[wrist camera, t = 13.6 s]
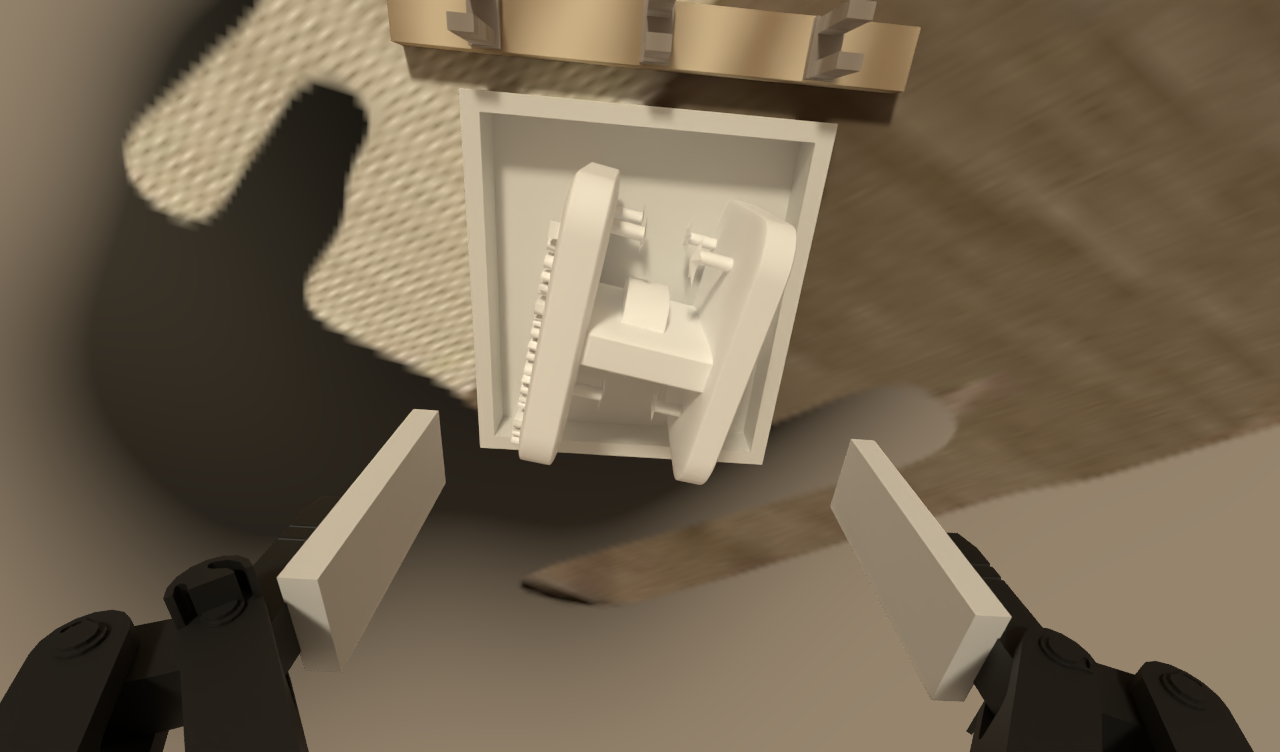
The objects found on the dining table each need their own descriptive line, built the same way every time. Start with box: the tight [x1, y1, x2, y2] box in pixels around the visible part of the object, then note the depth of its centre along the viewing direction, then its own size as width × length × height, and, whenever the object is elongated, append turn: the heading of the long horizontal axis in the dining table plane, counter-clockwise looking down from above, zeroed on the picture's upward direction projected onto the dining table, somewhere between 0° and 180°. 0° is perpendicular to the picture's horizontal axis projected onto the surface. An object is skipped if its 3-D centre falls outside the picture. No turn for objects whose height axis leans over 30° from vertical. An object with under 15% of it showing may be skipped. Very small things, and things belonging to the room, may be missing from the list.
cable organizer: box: [510, 162, 797, 485], centre depth 28 cm, size 15×11×12 cm
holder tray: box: [459, 88, 838, 465], centre depth 33 cm, size 20×22×4 cm
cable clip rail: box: [387, 0, 921, 94], centre depth 26 cm, size 28×3×6 cm, turn 85°
